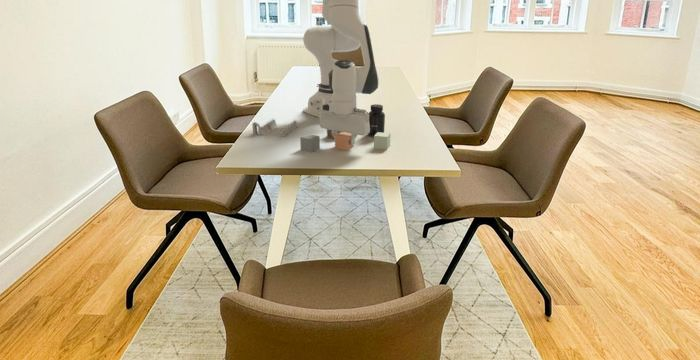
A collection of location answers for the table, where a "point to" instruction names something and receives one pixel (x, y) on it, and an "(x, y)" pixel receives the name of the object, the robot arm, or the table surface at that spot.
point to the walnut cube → (329, 133)
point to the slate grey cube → (310, 142)
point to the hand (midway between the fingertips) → (344, 143)
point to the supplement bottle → (376, 119)
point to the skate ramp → (271, 126)
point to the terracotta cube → (343, 141)
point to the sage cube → (381, 140)
